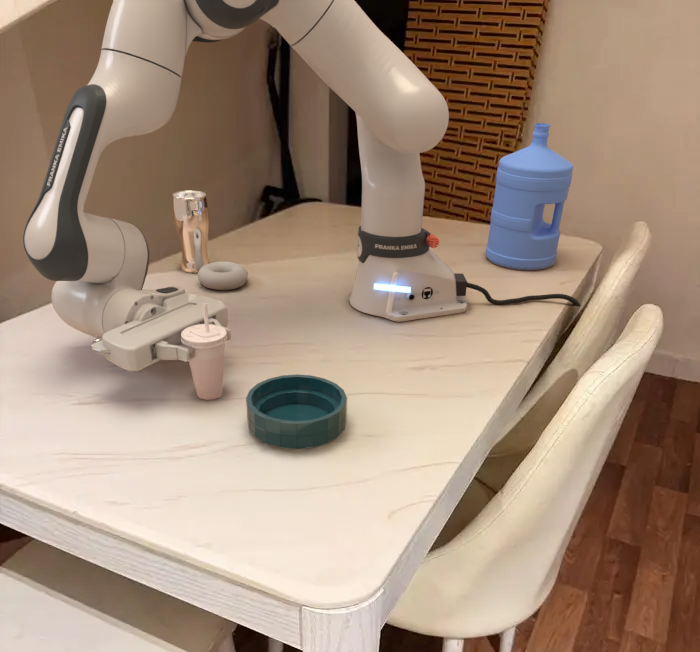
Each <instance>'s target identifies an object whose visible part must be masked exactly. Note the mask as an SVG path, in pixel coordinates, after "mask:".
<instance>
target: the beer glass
mask: <svg viewBox="0 0 700 652" xmlns="http://www.w3.org/2000/svg"><path fill="white" fill-rule="evenodd" d="M172 211H173V219H174V225H175V231H176V234H177V237H178V240H179V244H180V248H181V270H182V271H183V272H186V273H190V274H191V273H192V274H198V272H199V270H200V268H202V267H203V266H204V265H207V264H209V263H211V261H210V257H209V250H208V249H209V248H208V246H209V245H208V243H209V232H210V213H209V212H210V211H209V205H208V199H207V193H206V192H204V191H200V190H193V189H192V190H191V189H190V190H187V189H186V190H179V191H175V192H173V193H172Z"/></svg>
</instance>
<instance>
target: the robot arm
mask: <svg viewBox="0 0 700 652" xmlns="http://www.w3.org/2000/svg"><path fill="white" fill-rule="evenodd" d="M258 20H262V21H264V22H266V23H267V24H269V25H270V26H271V27H272V28H273V29H275V30H276V31H277V32H278V33H279V35H281V37H282V38H283V39H284V40H285V41H286V42H287V44H288V45H289V46H290V47H291V48H292V49H293V50H294V51H295V53H296V54H298V55H299V57H300V58H301V59H302V60H303V61H304V62H305V63H306V64H307V65H308V66H309V67H310V68H311V70H312V71H313V72H314V73H315V74H316V75H317V76H318V77H319V78H320V80H321V81H323V82H324V83H325V85H327V87H328V88H330V89H331V90H332V91H333V92H334V93H335V94H336V95H337V96H338V97H339V98H340V99H341V100H342V101H344V103H346V104H347V105H348V107H350V109H351V110H353V111H354V112H355V119H356V127H357V128H356V129H357V141H358V153H359V161H360V172H361V206H360V207H361V208H360V209H361V211H360V225H359V226H358V230H357V231H358V232H357V236H356V256H357V259H358V260H357V267H356V274H355V279H354V282H353V283H354V284H353V288H352V291H351V295H350V297H349V300H348V301H349V304H350V306H351V307H353V308H354V309H355V310H357V311H359V312H362V313H364V314H368V315H371V316H376V317H381V318H384V319H387V320H390V321H393V322H398V323H401V322H409V321H415V320H421V319H428V318H435V317H441V316H449V315H455V314H461V313H465V312H466V311H467V309H468V301H467V299H466V294H467V288H468V289H472V290H475V291H478V292H480V293H482V294H483V296H484V297H485V299H486V300H487V302H489V303H490V304H492V305H496V306H504V305H505V306H506V305H512V304H519V303H523V302H528V301H529V302H530V301H543V300H552V299H553V300H555V299H556V300H557V299H559V300H565V301H568V302H570V303H572V305H574V307H581V306H582V305H581V304H580V302H579V301H578V300H577V299H576V298H574V297H573V296H571V295H568V294H565V293H549V294H537V295H535V294H534V295H525V296H521V297H517V298H507V299H494V298H493V297H492V296H491V294H490V293H489V292H488V289H485V288H484V287H482V286H480V285H478V284H474V283H471V282H468V281H467V279H466V277H465V274H464V273H457V272H456V273H454V271H453V269H452V268H451V267H450V266H449V265H448V264H447V263H446V262H444V261H443V260H442V259H441V257H439V256H438V255H437V254H436V253H434V251H432V250H431V249H436V248H438V246H439V245H440V239H439V237H437V236H436V235H435V234H433V233H431V232H429V231H428V230H426V229H425V228H423V217H424V207H425V206H424V205H425V194H426V181H425V178H424V175H423V170H422V163H421V155H420V154H422V153H425V152H428V151H430V150H433V148H435V147H436V146H437V145H438V144H439V143H440V142H441V140H442V139H443V138H444V137H445V135H446V132H447V129H448V125H449V121H450V112H449V107H448V103H447V100H446V99H445V98H444V95H443V94H442V93H441V92H440V91H439V89H438V88H437V87H436V86H435V85H434V84H433V83H432V82H431V81H430V80H429V78H427V76H426V75H425V74H424V73H423V72H422V71H421V70H420V68H418V67H417V66H416V64H414V63H413V61H412V60H410V58H409V57H408V56H407V55H406V54H405V53H404V52H403V51H402V50H401V49H400V48H399V47H398V46H397V45H396V44H394V42H393V41H391V39H390V38H389V37H388V36H387V35H385V33H384V32H382V30H380V28H379V27H378V26H377V25H376V24H375V23H374V22H373V20H372V19H371V18H370V17H369V16H368V15H367V14H366V12H365V11H364V10H363V9H362V7H361V6H360V5H359V4H358V3H357V1H355V0H112V4H111V7H110V10H109V13H108V17H107V21H106V25H105V29H104V34H103V38H102V43H101V51H100V55H99V60H98V62H97V66H96V68H95V71H94V73H93V75H92V76H91V79H90V80H89V82H88V83H87V84H86V85H83V86H81V87H79V88H78V89H77V90H76V91H75V92H74V93H73V95H72V97H71V98H70V101H69V103H68V105H67V108H66V110H65V113H64V116H63V119H62V122H61V125H60V129H59V132H58V134H57V138H56V141H55V145H54V147H53V151H52V156H51V157H50V161H49V164H48V167H47V171H46V174H45V177H44V181H43V184H42V186H41V191H40V193H39V196H38V199H37V201H36V204H35V205H34V207H33V209H32V211H31V213H30V214H29V217H28V219H27V221H26V223H25V227H24V231H23V235H22V244H23V249H24V252H25V254H26V257H27V258H28V259H29V261H30V263H31V264H32V266H33V268H35V270H36V271H37V272H38V273H39V274H40V275H41V276H43V278H45V279H47V280H49V281H52V282H55V283H54V285H53V286H52V289H51V294H50V295H51V304H52V308H53V309H54V311H55V313H56V315H57V316H58V317H59V318H60V319H61V321H62V322H64V323H65V324H66V325H68V326H69V327H71V328H73V329H75V330H77V331H79V332H80V333H83V334H85V335H87V336H90V337H92V338H95V339H93V340H92V343H91V344H90V349H91V351H93V352H94V353H96V354H100V355H103V356H105V358H106V359H107V361H109V362H110V363H112V364H114V365H116V366H117V367H120V368H121V369H124V370H126V371H128V372H138V371H139V372H140V371H141V370H143V369H145V368H147V367H149V366H151V365H154V364H155V363H158V362H159V361H161V360H162V361H178V360H179V361H182V362H185V363H187V362H189V360H191V359H193V358H194V357H195V356H194V349H193V347H191V346H188V345H186V344H183V343H182V342H181V333H182V331H183V330H184V329H186V328H188V327H190V326H194V325H199V324H205V322H204V311H203V303H207V310H208V321H209V324H213V325H218V326H220V327H223V328H224V329H225V330H226V332H227V340H226V342H227V341H230V340H232V339H231V338H232V334H231V333H232V332H231V330H230V328H229V327H228V326H229V311H228V307H227V305H226V304H225V302H223V301H221V300H218V299H216V298H214V297H213V298H212V297H211V296H207V295H204V294H201V293H195V292H186V290H185V288H184V287H182V286H179V285H173V286H168V287H162V288H157V289H143V288H144V285H145V282H146V278H147V275H148V271H149V265H150V249H149V244H148V241H147V239H146V237H145V235H144V233H143V232H142V231H141V229H140V228H139V227H138V226H137V225H135V224H134V223H132V222H127V221H124V220H120V219H116V218H112V217H107V216H101V215H96V214H92V213H88V212H85V204H86V201H87V197H88V194H89V191H90V188H91V185H92V182H93V178H94V176H95V171H96V168H97V166H98V162H99V159H100V157H101V155H102V153H103V151H104V150H105V149H106V148H107V147H108V146H109V145H110V144H112V143H113V142H115V141H117V140H121V139H124V138H130V137H137V136H144V135H147V134H151V133H153V132H156V131H157V130H159V129H161V128H162V127H164V126H165V125H166V124H167V123H168V122H169V121H170V120H171V119H172V116H173V114H174V112H175V110H176V107H177V105H178V102H179V101H178V100H179V97H180V90H181V85H182V78H183V73H184V68H185V59H186V55H187V54H188V50H189V48H190V46H191V43H193V42H196V43H209V44H210V43H217V42H220V41H224V40H225V39H226V40H227V39H230V38H232V37H235V36H237V35H239V34H241V33H242V32H243V31H244V30H245V28H246V27H249V26H251V25H252V24H255V23H256V22H257V21H258ZM430 248H431V249H430Z"/></svg>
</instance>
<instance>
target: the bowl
mask: <svg viewBox="0 0 700 652" xmlns="http://www.w3.org/2000/svg"><path fill="white" fill-rule="evenodd" d="M245 404H246V420H247V427H248V431H249V432H250V433H251V434H252V436H254V438H255V439H257V440H258V441H260V442H262V443H264V444H266V445H268V446H272V447H276V448H280V449H291V450H301V449H302V450H304V449H313V448H316V447H320V446H324V445H327V444H329V443H331V442H333V441H335V440H337V439H338V438H339V437H340V436H341V435H342V434H343V433H344V432H345V430H346V426H347V413H348V412H347V411H348V396H347V394H346V392H345V389H343V388H342V387H341V386H340V385H339V384H337V383H336V382H334V381H332V380H329V379H327V378H324V377H319V376H315V375H311V374H299V373H298V374H297V373H296V374H284V375H277V376H274V377H270V378H267V379H264V380H262V381H260V382H258V383H257V384H255V385H254V386H253V387H251V389H249V391H248V393H247V395H246V397H245Z"/></svg>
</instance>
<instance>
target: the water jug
mask: <svg viewBox="0 0 700 652" xmlns="http://www.w3.org/2000/svg"><path fill="white" fill-rule="evenodd" d="M533 126H534V131H533V132H532V140H531V144H530V145H529V146H526V147H524V148H521V149H518V150H516V151H514V152H512V153H509V154H507V155H504V156H502V157H501V158H500V159H499V161H498V166H497V169H496V176H495V181H496V182H495V189H494V196H493V203H492V207H491V211H490V224H489V230H488V231H489V232H488V238H487V244H486V247H485V256H486V259H487V260H488V261H490V262H491V263H493V264H494V265H497V266H499V267H502V268H505V269H511V270H517V271H518V270H519V271H539V270H545V269H548V268H550V267H551V266H553V265H554V264H555V262H556V260H557V256H558V246H559V241H560V237H561V229H560V227H561V220H562V217H563V211H564V206H565V202H566V200H568V197H569V190H570V187H571V183H572V179H573V171H574V170H573V169H574V165H573V163H572V162H571V161H570V160H568V159H566V158H565V157H564V156H562V155H560V153H557V152H556V151H554V150H553V149H551V148H549V146H548V139H549V137H550V136H549V135H550V133H549V132H550V131H549V130H550V128H551V124H549V123H543V122H542V123H541V122H540V123H539V122H538V123H537V122H536V123H534V125H533ZM546 205H554V209H553V213H552V219H551V223H548V222H546V221H545V220H544V218H543V217H544V212H545V206H546Z"/></svg>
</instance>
